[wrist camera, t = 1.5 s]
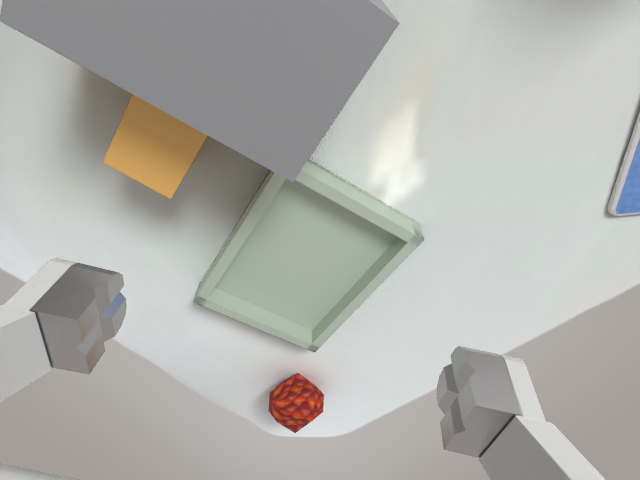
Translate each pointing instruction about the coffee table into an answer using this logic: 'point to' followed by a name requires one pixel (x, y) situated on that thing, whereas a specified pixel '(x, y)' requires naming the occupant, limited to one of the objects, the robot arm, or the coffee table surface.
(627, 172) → the tablet computer
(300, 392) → the red bumpy oval lump
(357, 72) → the block
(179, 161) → the orange rectangular block
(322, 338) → the tray
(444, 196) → the coffee table surface
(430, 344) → the coffee table surface
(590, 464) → the robot arm
